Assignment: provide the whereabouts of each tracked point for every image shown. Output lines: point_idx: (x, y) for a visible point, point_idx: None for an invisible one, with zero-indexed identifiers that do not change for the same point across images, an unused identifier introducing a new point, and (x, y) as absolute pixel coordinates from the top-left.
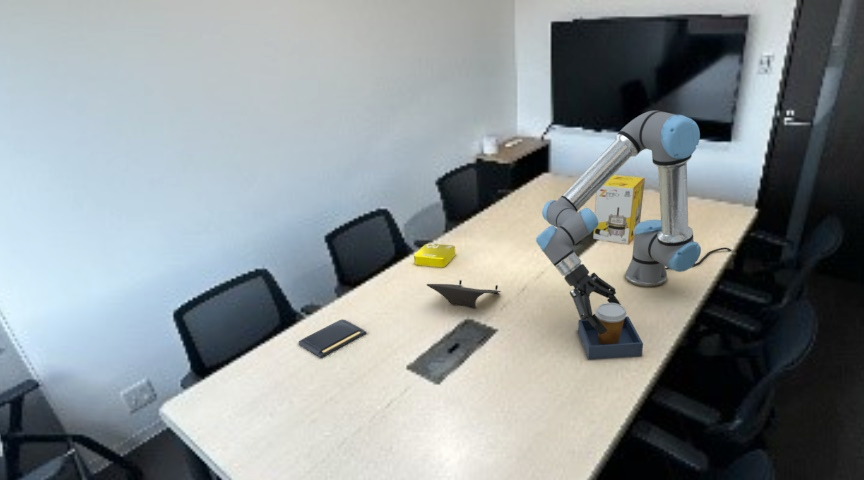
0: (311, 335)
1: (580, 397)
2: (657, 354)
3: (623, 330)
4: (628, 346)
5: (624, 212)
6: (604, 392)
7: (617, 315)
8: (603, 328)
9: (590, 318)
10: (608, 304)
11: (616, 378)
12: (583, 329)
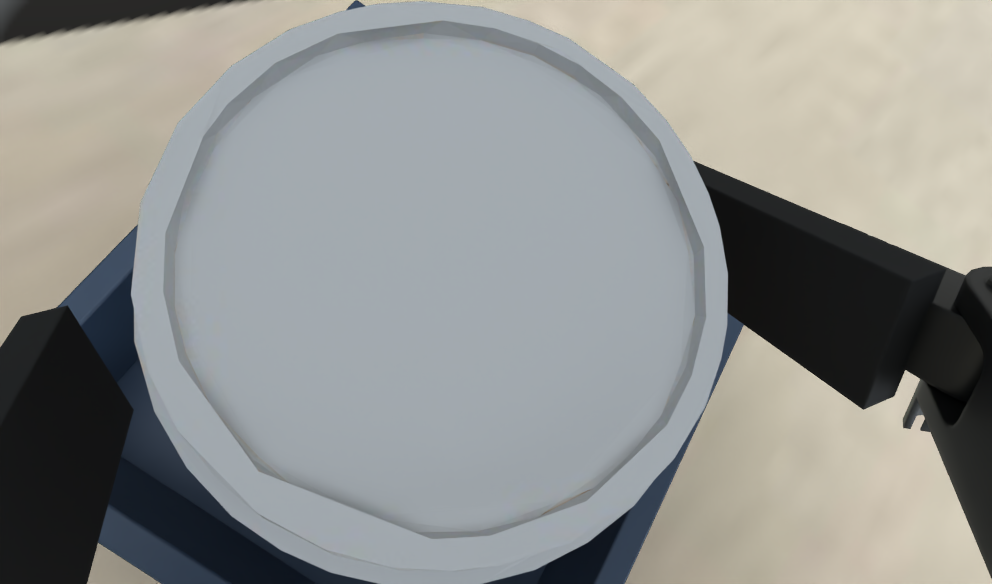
0: None
1: (923, 96)
2: (253, 27)
3: (144, 404)
4: None
5: None
6: (801, 39)
7: (536, 40)
8: (714, 177)
9: (960, 283)
10: (293, 478)
11: (672, 64)
12: (624, 556)
